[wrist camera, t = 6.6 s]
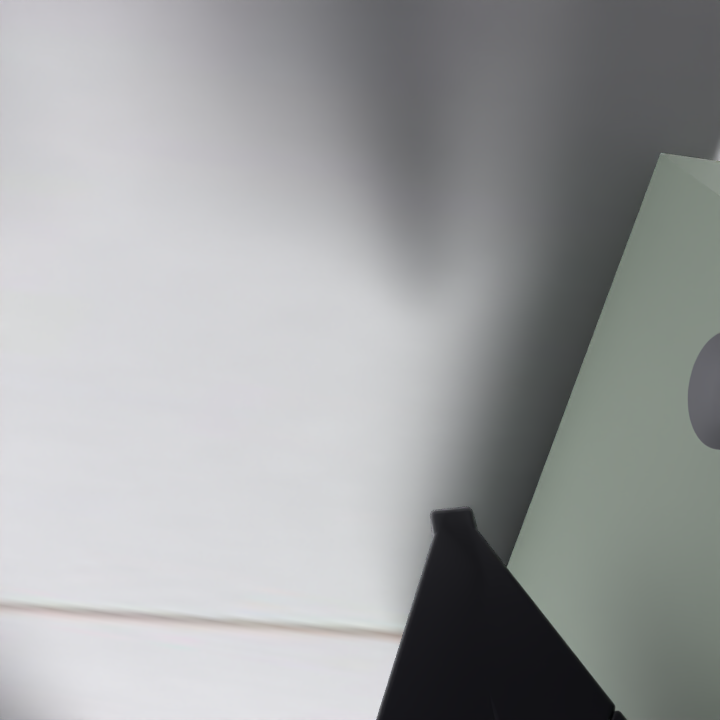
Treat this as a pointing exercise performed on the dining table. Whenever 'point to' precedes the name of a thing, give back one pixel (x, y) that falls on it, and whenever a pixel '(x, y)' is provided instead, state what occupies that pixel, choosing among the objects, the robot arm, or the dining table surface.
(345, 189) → the dining table surface
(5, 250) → the dining table surface
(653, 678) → the door
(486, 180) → the dining table surface
